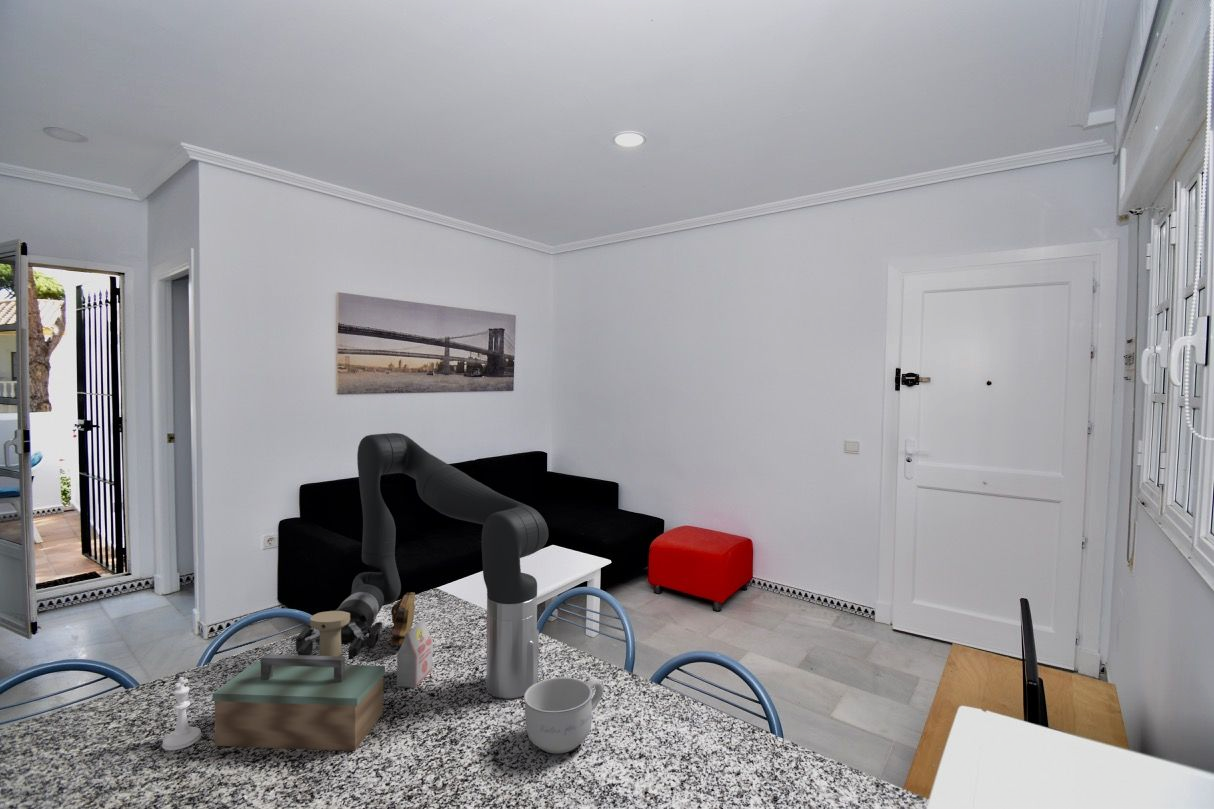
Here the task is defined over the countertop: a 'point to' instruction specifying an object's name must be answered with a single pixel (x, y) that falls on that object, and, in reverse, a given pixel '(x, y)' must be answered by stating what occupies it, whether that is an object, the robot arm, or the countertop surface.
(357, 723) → the toolbox
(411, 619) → the wooden carving
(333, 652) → the handle
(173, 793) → the countertop surface
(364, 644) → the robot arm
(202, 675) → the countertop surface
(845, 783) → the countertop surface
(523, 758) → the countertop surface
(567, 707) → the teacup
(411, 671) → the milk carton
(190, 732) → the chess piece
